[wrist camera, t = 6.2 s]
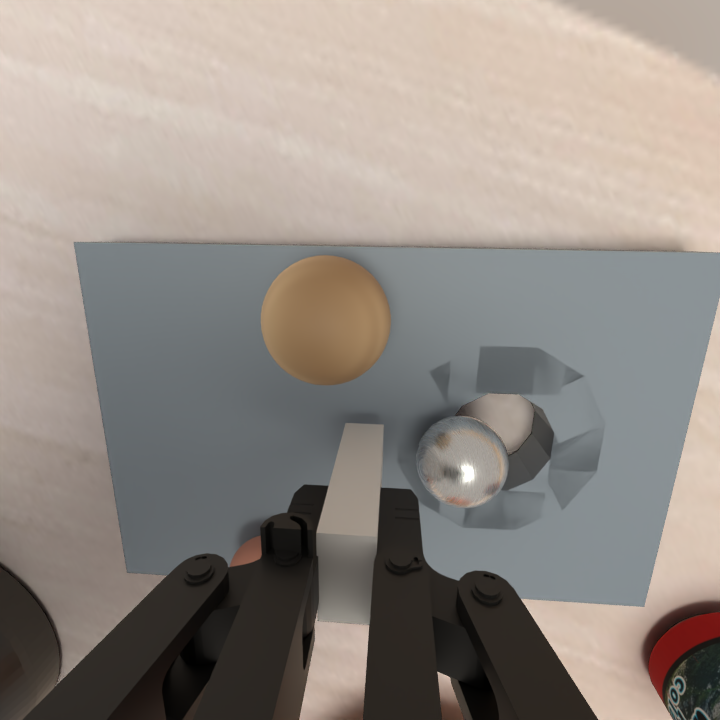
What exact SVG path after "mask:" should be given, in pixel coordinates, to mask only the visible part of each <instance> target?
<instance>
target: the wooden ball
mask: <svg viewBox="0 0 720 720" xmlns="http://www.w3.org/2000/svg"><path fill="white" fill-rule="evenodd" d="M390 327H391V314H390V308H389V304H388V300H387V298H386V295H385V293H384V291H383V289H382V287H381V286H380V284H379V283H378V281H377V280H376V279H375V278H374V276H373V275H372V274H370V273H369V272H368V271H367V270H366V269H365V268H363V267H362V266H360V265H359V264H357V263H355V262H353V261H351V260H348V259H345V258H342V257H337V256H330V255H320V256H313V257H308V258H305V259H302V260H300V261H298V262H296V263H294V264H292V265H291V266H289V267H288V268H286V269H285V270H284V271H283V272H281V273H280V274H279V275H278V276H277V278H276V279H275V280H274V281H273V283H272V284H271V286H270V287H269V289H268V291H267V293H266V296H265V298H264V301H263V305H262V310H261V330H262V334H263V339H264V342H265V344H266V347H267V349H268V351H269V353H270V354H271V356H272V357H273V359H274V360H275V361H276V363H277V364H278V365H279V366H280V367H281V368H282V369H283V370H285V371H286V372H287V373H288V374H290V375H291V376H293V377H295V378H297V379H299V380H301V381H304V382H307V383H310V384H315V385H337V384H342V383H346V382H349V381H351V380H354V379H356V378H357V377H359V376H361V375H362V374H364V373H365V372H366V371H368V370H369V369H370V368H371V367H372V366H373V365H374V364H375V363H376V362H377V360H378V359H379V358H380V356H381V354H382V353H383V351H384V349H385V346H386V344H387V341H388V338H389V334H390Z"/></svg>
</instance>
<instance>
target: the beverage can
mask: <svg viewBox="0 0 720 720" xmlns="http://www.w3.org/2000/svg"><path fill="white" fill-rule="evenodd" d="M649 675H650V679H651V681H652V684H653V685H654V687H655V689H656V691H657V692H658V694H659V696H660V698H661V699H662V701H663V703H664V705H665V706H666V708H667V710H668V712H669V713H670V715H671V717H672V718H673V720H720V612H716V613H708V614H702V615H697V616H693V617H690V618H687V619H684V620H682V621H680V622H678V623H677V624H675V625H674V626H673V627H671V628H670V629H669V630H668V631H667V632H666V633H665V634H664V635H663V636H662V637H661V638H660V639H659V641H658V642H657V643H656V645H655V646H654V648H653V650H652V652H651V655H650V659H649Z"/></svg>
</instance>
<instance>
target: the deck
mask: <svg viewBox="0 0 720 720" xmlns="http://www.w3.org/2000/svg"><path fill="white" fill-rule="evenodd" d="M74 247H75V253H76V259H77V265H78V272H79V278H80V284H81V290H82V296H83V303H84V309H85V315H86V321H87V327H88V334H89V340H90V346H91V352H92V358H93V365H94V371H95V377H96V383H97V389H98V395H99V402H100V408H101V414H102V420H103V426H104V433H105V439H106V445H107V451H108V457H109V464H110V470H111V476H112V482H113V488H114V495H115V501H116V507H117V513H118V519H119V526H120V532H121V538H122V544H123V550H124V557H125V563H126V569H127V573H140V574H155V575H168V574H169V573H170V572H171V571H173V570H174V569H175V568H176V567H177V566H178V565H179V564H180V563H182V562H183V561H184V560H186V559H188V558H190V557H193V556H195V555H200V554H205V553H209V554H217V555H219V556H221V557H223V558H224V559H225V560H226V562H227V564H228V567H230V564H231V561H232V558H233V556H234V555H235V553H236V552H237V550H238V549H239V548H240V547H241V546H242V545H243V544H244V543H245V542H247V541H248V540H250V539H252V538H254V537H257V536H261V534H260V526H261V525H262V524H263V523H264V521H265V520H267V519H268V518H270V517H272V516H274V515H277V514H280V513H287V511H288V508H289V505H290V503H291V500H292V498H293V495H294V493H295V492H296V491H297V490H298V489H299V488H301V487H302V486H303V485H304V484H307V485H325V486H329V483H330V480H331V476H332V472H333V468H334V465H335V461H336V457H337V453H338V450H339V446H340V442H341V438H342V435H343V431H344V427H345V423H360V424H382V425H384V431H383V464H382V488H399V489H411V490H412V491H413V492H414V494H415V495H416V496H417V498H418V502H419V513H420V524H421V535H422V546H423V554H424V558H425V560H426V562H427V563H428V565H429V566H430V567H431V568H432V569H434V570H435V571H437V572H438V573H440V574H442V575H444V576H446V577H449V578H452V579H455V580H458V581H459V580H460V578H461V577H462V576H463V575H465V574H466V573H468V572H472V571H475V570H476V571H488V572H491V573H494V574H497V575H499V576H500V577H502V578H503V579H505V580H507V581H508V583H509V584H510V585H511V586H512V587H513V588H514V589H515V591H516V593H517V594H518V596H519V597H520V599H533V600H549V601H564V602H579V603H594V604H609V605H624V606H640V607H644V605H645V601H646V597H647V593H648V589H649V585H650V581H651V577H652V573H653V568H654V564H655V560H656V556H657V552H658V548H659V544H660V540H661V536H662V532H663V527H664V523H665V519H666V515H667V511H668V507H669V503H670V499H671V495H672V490H673V486H674V482H675V478H676V474H677V470H678V466H679V462H680V458H681V454H682V449H683V445H684V441H685V437H686V433H687V429H688V425H689V421H690V417H691V413H692V408H693V404H694V400H695V396H696V392H697V388H698V384H699V380H700V376H701V371H702V367H703V363H704V359H705V355H706V351H707V347H708V343H709V339H710V335H711V330H712V326H713V322H714V318H715V314H716V310H717V306H718V302H719V298H720V253H715V252H689V251H634V250H574V249H513V248H453V247H392V246H332V245H271V244H211V243H150V242H74ZM320 255H330V256H337V257H342V258H345V259H348V260H351V261H353V262H355V263H357V264H359V265H360V266H362V267H363V268H365V269H366V270H367V271H368V272H369V273H370V274H372V275H373V276H374V278H375V279H376V280H377V281H378V283H379V284H380V286H381V287H382V289H383V291H384V293H385V295H386V298H387V300H388V304H389V308H390V314H391V327H390V334H389V338H388V341H387V344H386V346H385V349H384V351H383V353H382V354H381V356H380V358H379V359H378V360H377V362H376V363H375V364H374V365H373V366H372V367H371V368H370V369H369V370H368V371H366V372H365V373H364V374H362V375H361V376H359V377H357V378H356V379H354V380H351V381H349V382H346V383H342V384H337V385H315V384H310V383H307V382H304V381H301V380H299V379H297V378H295V377H293V376H291V375H290V374H288V373H287V372H286V371H285V370H283V369H282V368H281V367H280V366H279V365H278V364H277V363H276V361H275V360H274V359H273V357H272V356H271V354H270V353H269V351H268V349H267V347H266V344H265V342H264V339H263V334H262V330H261V310H262V305H263V301H264V298H265V296H266V293H267V291H268V289H269V287H270V286H271V284H272V283H273V281H274V280H275V279H276V278H277V276H278V275H279V274H280V273H281V272H283V271H284V270H285V269H286V268H288V267H289V266H291V265H292V264H294V263H296V262H298V261H300V260H302V259H305V258H308V257H313V256H320ZM488 393H494V394H519V395H520V396H522V397H524V398H525V399H527V400H529V401H530V402H531V403H532V405H533V407H534V409H535V412H534V420H533V427H532V433H531V435H530V436H529V437H528V438H527V440H526V441H525V442H524V443H523V445H522V446H521V447H520V448H519V450H518V451H517V452H516V453H514V454H511V455H509V456H508V460H509V469H508V475H507V479H506V481H505V483H504V485H503V487H502V489H501V490H500V491H499V493H498V494H497V495H496V496H495V497H494V498H493V499H492V500H490V501H488V502H487V503H485V504H483V505H480V506H477V507H473V508H457V507H453V506H449V505H447V504H444V503H442V502H441V501H439V500H438V499H436V498H435V497H434V496H432V495H431V494H430V493H429V492H428V490H427V489H426V488H425V486H424V485H423V483H422V481H421V479H420V477H419V474H418V471H417V465H416V454H417V448H418V445H419V442H420V440H421V438H422V436H423V435H424V433H425V432H426V431H427V430H428V429H429V428H430V427H431V426H432V425H433V424H435V423H436V422H438V421H440V420H442V419H444V418H447V417H451V416H455V415H456V414H457V412H458V411H459V409H460V408H461V407H462V406H463V405H465V404H467V403H469V402H471V401H474V400H476V399H478V398H480V397H482V396H484V395H486V394H488Z"/></svg>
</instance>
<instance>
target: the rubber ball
mask: <svg viewBox="0 0 720 720" xmlns="http://www.w3.org/2000/svg"><path fill="white" fill-rule="evenodd" d="M261 555H262V551H261V536H257V537H254V538H252V539H250V540H248V541H247V542H245V543H244V544H243V545H242V546H241V547H240V548H239V549H238V550H237V552H236V553H235V555H234V556H233V558H232V561H231V564H230V567H232V566H238V565H243V564H247V563H251V562H254V561H256V560H258V559H260V558H261Z"/></svg>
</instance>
